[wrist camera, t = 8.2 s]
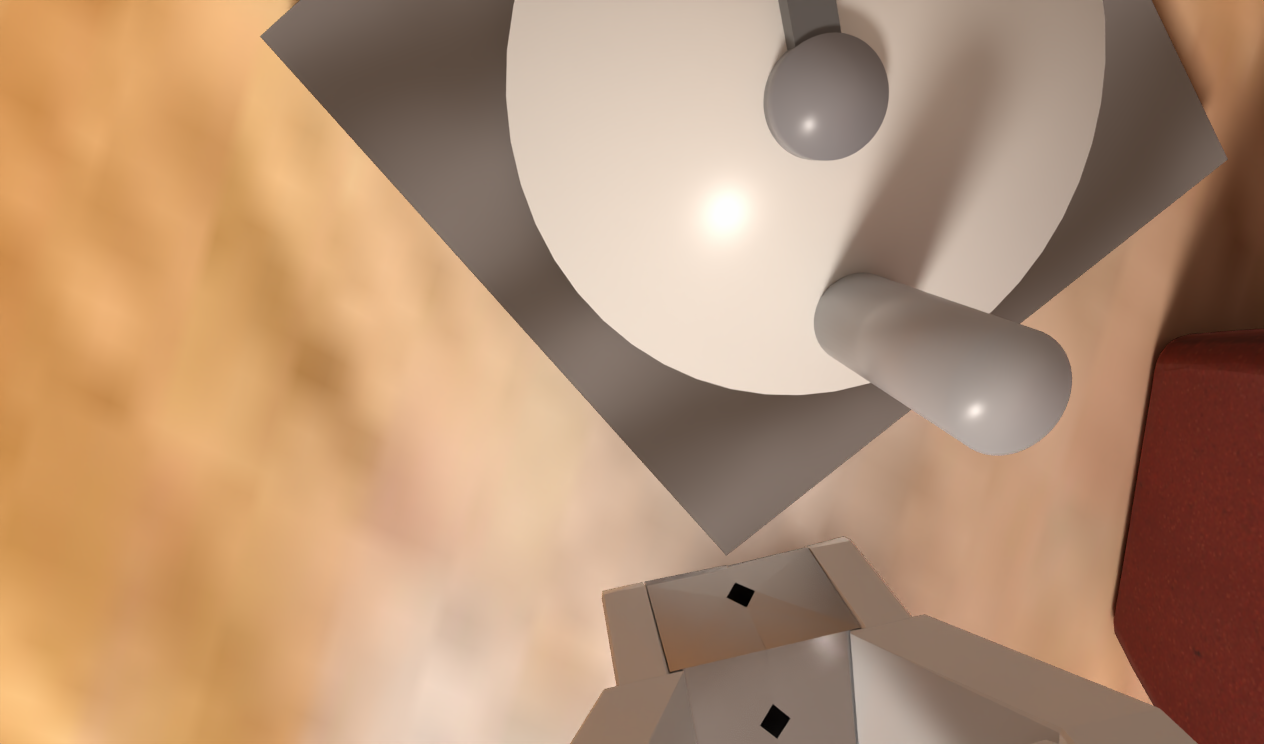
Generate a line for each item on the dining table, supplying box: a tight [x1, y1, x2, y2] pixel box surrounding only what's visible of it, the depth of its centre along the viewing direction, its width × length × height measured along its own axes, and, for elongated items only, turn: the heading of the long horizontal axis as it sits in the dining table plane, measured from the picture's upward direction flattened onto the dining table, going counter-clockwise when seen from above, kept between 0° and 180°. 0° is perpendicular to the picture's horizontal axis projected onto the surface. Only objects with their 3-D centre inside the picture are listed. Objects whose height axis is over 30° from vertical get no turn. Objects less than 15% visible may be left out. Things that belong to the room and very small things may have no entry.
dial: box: [506, 0, 1105, 455], centre depth 17 cm, size 16×16×8 cm
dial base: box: [260, 0, 1228, 555], centre depth 22 cm, size 20×20×2 cm
